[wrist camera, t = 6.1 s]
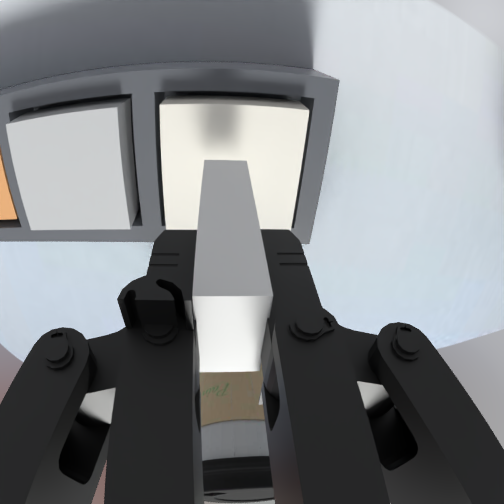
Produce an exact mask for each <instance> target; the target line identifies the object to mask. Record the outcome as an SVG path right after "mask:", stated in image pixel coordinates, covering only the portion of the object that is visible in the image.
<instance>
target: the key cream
mask: <svg viewBox="0 0 504 504" xmlns="http://www.w3.org/2000/svg"><path fill="white" fill-rule="evenodd" d="M308 117H309V109H308V108H306V107H305V106H304V105H303V104H302V103H301V102H300V101H295V100H285V99H274V98H260V97H242V96H201V95H197V96H167V97H166V99H165V100H164V101H163V102H162V103H161V104H160V139H161V162H162V181H163V196H164V209H165V221H166V230H197V227H198V216H199V205H200V195H201V185H202V176H203V167H204V160H243V161H247V164H248V169H249V174H250V179H251V184H252V189H253V194H254V199H255V204H256V209H257V215H258V220H259V225H260V229H288V230H290V231H291V226H292V220H293V214H294V208H295V202H296V196H297V190H298V184H299V178H300V171H301V165H302V158H303V152H304V145H305V138H306V131H307V124H308Z"/></svg>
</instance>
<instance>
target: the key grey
mask: <svg viewBox="0 0 504 504" xmlns="http://www.w3.org/2000/svg"><path fill="white" fill-rule="evenodd" d="M6 129H7V135H8V141H9V146H10V151H11V156H12V161H13V166H14V170H15V174H16V178H17V182H18V186H19V190H20V194H21V198H22V201H23V205H24V208H25V212H26V215H27V218H28V222H29V225H30V228H31V230H97V229H131V227H132V224H133V222H134V220H135V217H136V215H137V212H138V210H139V204H138V195H137V186H136V177H135V166H134V154H133V141H132V126H131V105H130V98H125V99H114V100H104V101H95V102H87V103H79V104H72V105H65V106H59V107H53V108H48V109H42V110H37V111H32V112H27V113H25V114H23V115H21V116H19V117H18V118H16V119H14V120H12V121H11V122H9V123H7V124H6Z"/></svg>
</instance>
